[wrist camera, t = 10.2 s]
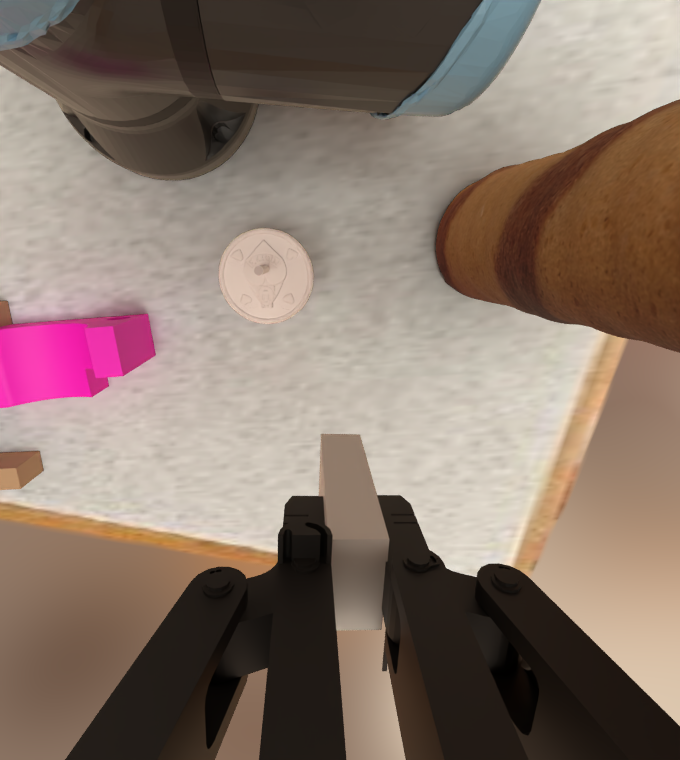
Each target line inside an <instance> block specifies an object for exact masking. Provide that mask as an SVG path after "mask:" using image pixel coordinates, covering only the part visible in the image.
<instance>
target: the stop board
mask: <svg viewBox="0 0 680 760" xmlns="http://www.w3.org/2000/svg"><path fill="white" fill-rule="evenodd" d="M11 324H12V320H11V315H10V310H9V306H8V301H0V327H2V326H7V325H11ZM42 471H43V466H42V461H41V456H40V452H39V451H31V452H6V453H0V490H6V489H21V488H22V487H24V486H25V485H26V484H27V483H29V482H30V481H31V480H32V479H34V478H35V477H36V476H37V475H38V474H40V473H41V472H42Z"/></svg>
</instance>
